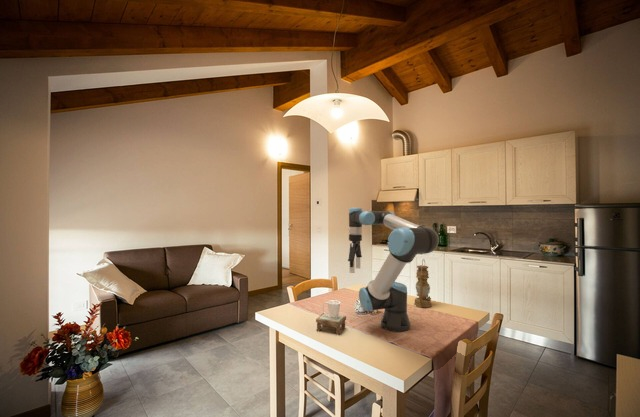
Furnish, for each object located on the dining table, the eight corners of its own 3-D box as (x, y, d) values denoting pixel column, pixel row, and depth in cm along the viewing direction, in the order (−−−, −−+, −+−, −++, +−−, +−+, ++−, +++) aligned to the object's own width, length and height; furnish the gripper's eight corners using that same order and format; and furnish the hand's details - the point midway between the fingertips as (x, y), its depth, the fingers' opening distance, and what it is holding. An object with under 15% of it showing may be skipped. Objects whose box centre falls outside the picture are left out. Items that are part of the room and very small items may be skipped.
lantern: (432, 310, 187) (432, 261, 187) (414, 308, 190) (415, 260, 190) (430, 302, 202) (430, 257, 202) (413, 301, 205) (414, 257, 205)
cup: (337, 321, 151) (337, 305, 151) (319, 317, 156) (319, 302, 156) (342, 316, 158) (342, 301, 158) (325, 313, 162) (325, 298, 162)
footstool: (346, 327, 159) (346, 316, 159) (340, 335, 149) (340, 323, 149) (323, 324, 164) (323, 312, 164) (315, 330, 154) (316, 319, 154)
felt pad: (343, 316, 158) (343, 316, 158) (338, 322, 151) (338, 321, 151) (324, 313, 162) (324, 313, 162) (318, 318, 155) (318, 318, 155)
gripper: (354, 232, 189) (354, 266, 189) (342, 235, 165) (342, 274, 166) (366, 232, 186) (366, 267, 186) (356, 236, 163) (355, 275, 163)
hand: (355, 270), depth 176 cm, fingers open, 13 cm apart
